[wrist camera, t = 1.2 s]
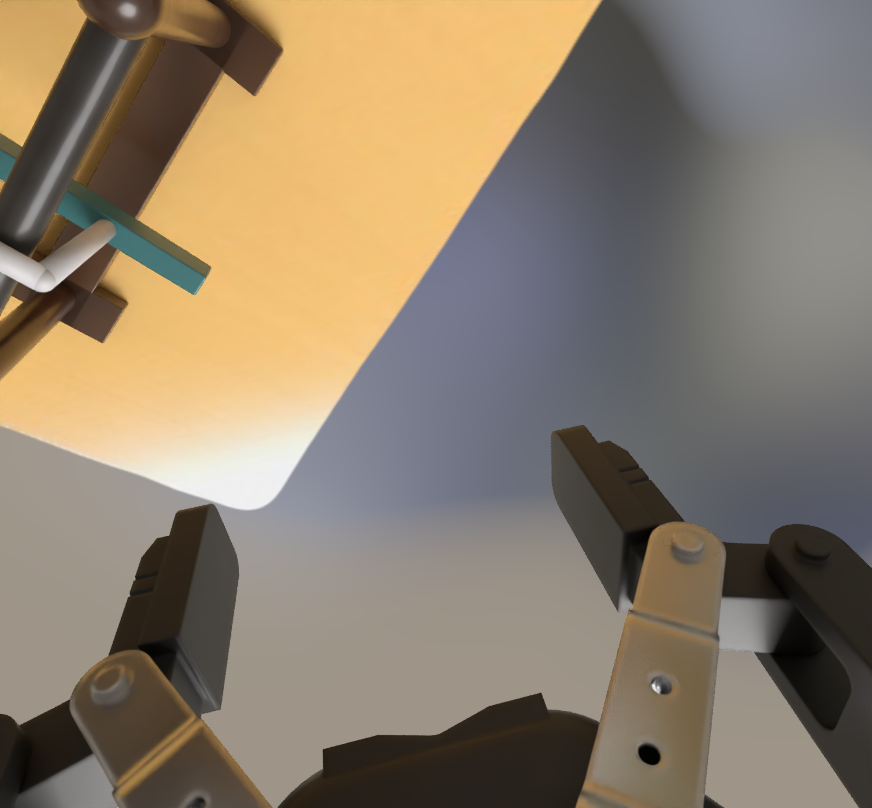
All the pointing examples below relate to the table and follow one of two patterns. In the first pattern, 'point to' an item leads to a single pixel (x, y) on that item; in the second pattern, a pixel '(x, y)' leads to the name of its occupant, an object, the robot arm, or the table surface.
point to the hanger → (97, 240)
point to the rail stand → (115, 143)
